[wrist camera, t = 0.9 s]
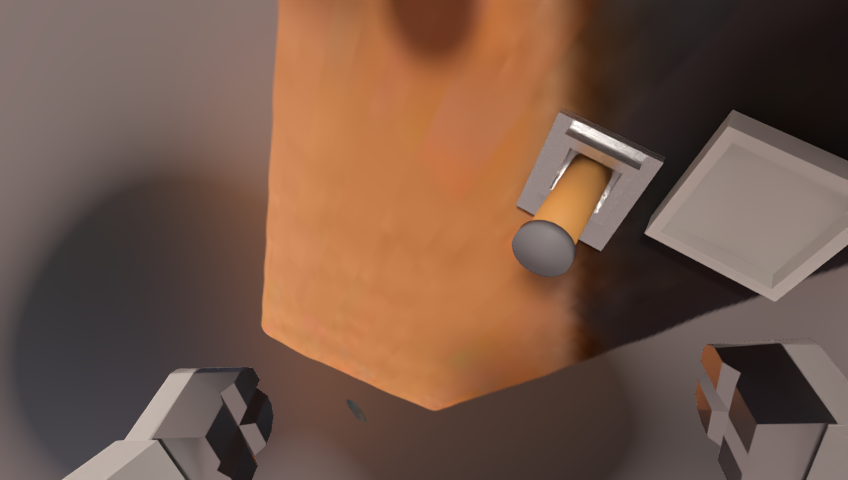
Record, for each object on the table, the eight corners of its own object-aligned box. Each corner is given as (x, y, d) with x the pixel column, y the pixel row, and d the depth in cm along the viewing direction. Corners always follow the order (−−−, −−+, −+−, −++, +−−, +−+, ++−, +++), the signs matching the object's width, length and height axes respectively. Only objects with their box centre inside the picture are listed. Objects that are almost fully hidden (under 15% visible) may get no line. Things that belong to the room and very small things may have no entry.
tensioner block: (562, 107, 46) (550, 123, 43) (665, 157, 43) (658, 176, 41) (519, 200, 54) (507, 216, 52) (603, 245, 52) (594, 264, 50)
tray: (732, 109, 38) (728, 126, 37) (895, 181, 36) (899, 203, 34) (651, 215, 47) (644, 233, 45) (776, 280, 45) (775, 301, 43)
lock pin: (577, 139, 46) (524, 216, 37) (626, 163, 44) (582, 248, 36) (557, 178, 49) (504, 256, 41) (602, 201, 48) (557, 286, 40)
